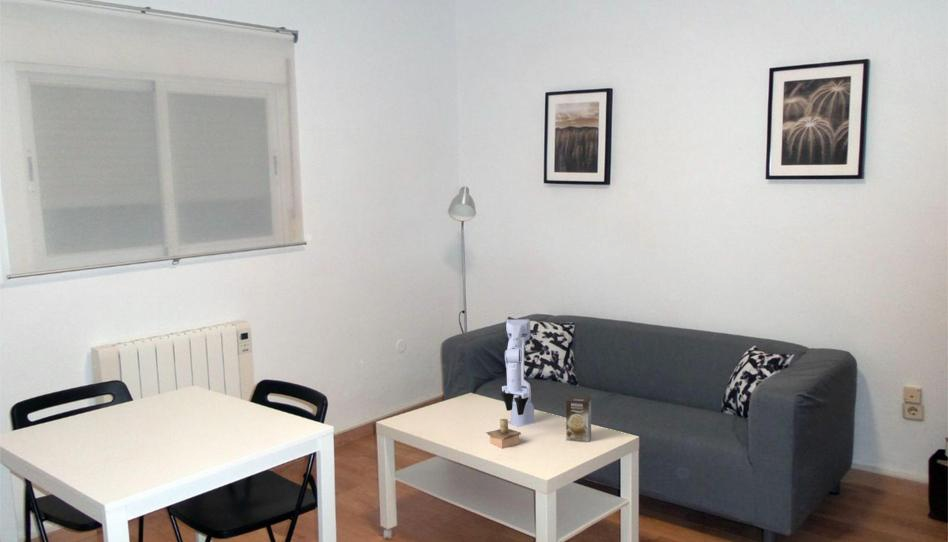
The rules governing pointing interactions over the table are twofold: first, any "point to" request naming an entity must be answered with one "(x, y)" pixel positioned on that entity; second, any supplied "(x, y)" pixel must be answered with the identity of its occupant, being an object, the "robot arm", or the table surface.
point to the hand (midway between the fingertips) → (514, 412)
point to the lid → (504, 431)
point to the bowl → (504, 442)
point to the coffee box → (578, 419)
